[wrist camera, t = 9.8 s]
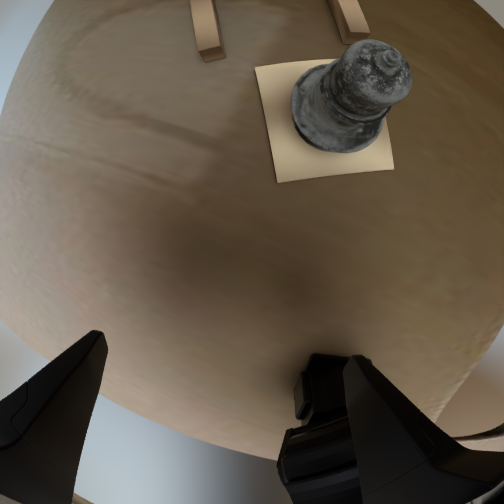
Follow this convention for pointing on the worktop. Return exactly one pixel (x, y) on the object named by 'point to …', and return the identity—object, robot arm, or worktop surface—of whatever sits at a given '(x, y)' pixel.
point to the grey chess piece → (350, 97)
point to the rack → (211, 38)
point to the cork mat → (294, 147)
